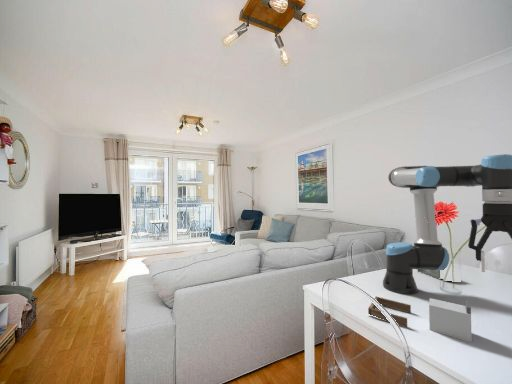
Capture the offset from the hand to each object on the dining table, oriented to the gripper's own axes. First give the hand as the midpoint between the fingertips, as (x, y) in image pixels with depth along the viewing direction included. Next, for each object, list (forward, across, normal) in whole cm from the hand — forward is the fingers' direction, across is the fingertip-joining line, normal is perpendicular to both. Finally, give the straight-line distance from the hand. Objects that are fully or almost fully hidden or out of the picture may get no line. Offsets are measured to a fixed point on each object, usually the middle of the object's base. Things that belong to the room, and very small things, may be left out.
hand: (500, 273), depth 73 cm
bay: (+23, -31, 0) cm, 39 cm away
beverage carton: (+24, -17, +68) cm, 74 cm away
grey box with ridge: (+23, -13, 0) cm, 27 cm away
